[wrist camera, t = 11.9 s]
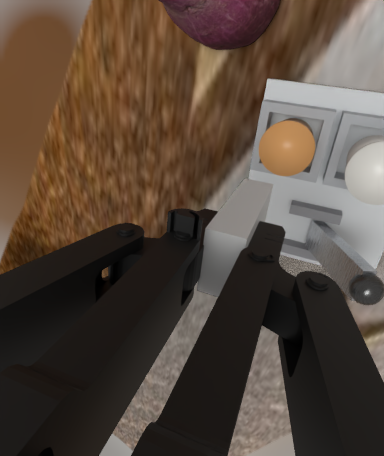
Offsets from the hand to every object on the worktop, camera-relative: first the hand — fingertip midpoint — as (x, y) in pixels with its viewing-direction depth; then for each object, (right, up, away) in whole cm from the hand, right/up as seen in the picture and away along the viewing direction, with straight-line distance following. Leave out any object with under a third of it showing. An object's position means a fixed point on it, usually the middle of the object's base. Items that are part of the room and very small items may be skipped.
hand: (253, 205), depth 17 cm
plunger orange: (+6, +7, +15) cm, 18 cm away
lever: (+9, -1, +18) cm, 21 cm away
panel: (+11, +4, +18) cm, 21 cm away
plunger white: (+12, +5, +11) cm, 17 cm away
